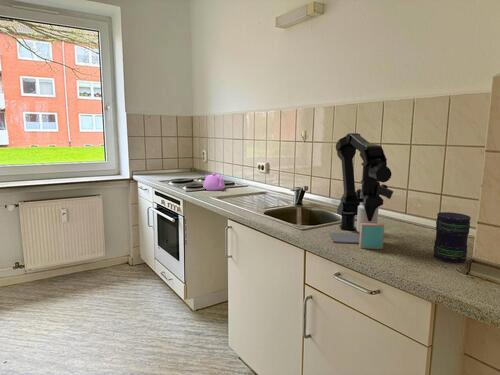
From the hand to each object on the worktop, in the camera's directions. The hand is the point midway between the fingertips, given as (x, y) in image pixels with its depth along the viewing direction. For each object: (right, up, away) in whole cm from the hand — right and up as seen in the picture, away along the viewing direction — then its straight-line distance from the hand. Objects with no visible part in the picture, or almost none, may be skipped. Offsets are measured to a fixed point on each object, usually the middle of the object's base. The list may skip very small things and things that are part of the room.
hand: (367, 218), depth 136 cm
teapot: (-71, +10, +119) cm, 140 cm away
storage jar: (+22, -12, -17) cm, 30 cm away
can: (0, -6, +1) cm, 6 cm away
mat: (-7, -8, +4) cm, 12 cm away
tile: (-1, -10, -7) cm, 12 cm away
